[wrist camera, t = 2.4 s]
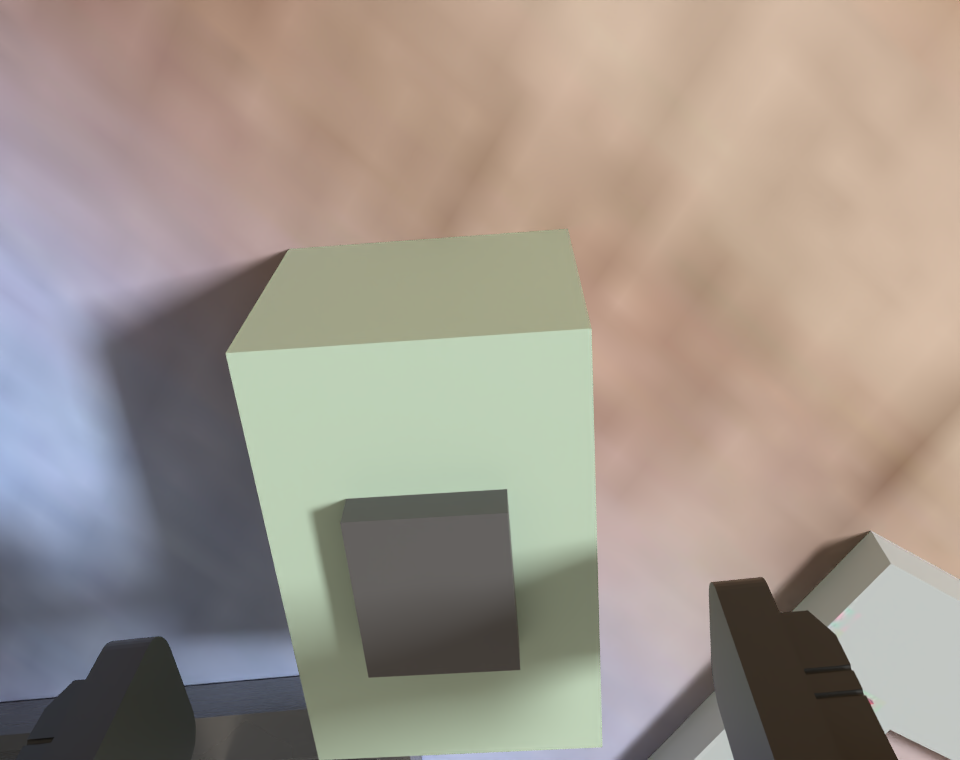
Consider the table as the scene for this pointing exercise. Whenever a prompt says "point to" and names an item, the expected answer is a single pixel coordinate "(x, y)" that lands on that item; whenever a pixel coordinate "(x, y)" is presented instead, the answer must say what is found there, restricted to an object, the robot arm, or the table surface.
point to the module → (430, 490)
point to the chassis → (215, 722)
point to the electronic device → (874, 650)
